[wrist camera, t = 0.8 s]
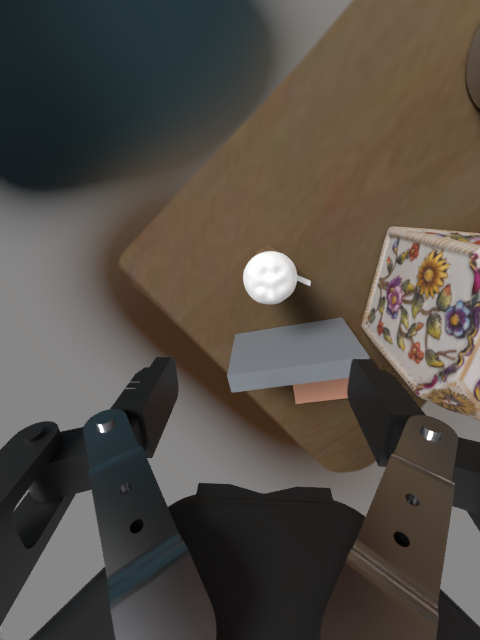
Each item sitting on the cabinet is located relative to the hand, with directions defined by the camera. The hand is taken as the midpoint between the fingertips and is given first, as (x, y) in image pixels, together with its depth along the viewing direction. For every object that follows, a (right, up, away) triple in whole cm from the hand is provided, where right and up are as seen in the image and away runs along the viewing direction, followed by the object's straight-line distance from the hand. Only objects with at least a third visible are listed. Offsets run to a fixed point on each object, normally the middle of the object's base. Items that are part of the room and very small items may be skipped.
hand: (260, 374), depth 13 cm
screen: (+5, +1, +21) cm, 22 cm away
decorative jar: (+19, +6, +18) cm, 27 cm away
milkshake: (+3, +9, +18) cm, 21 cm away
